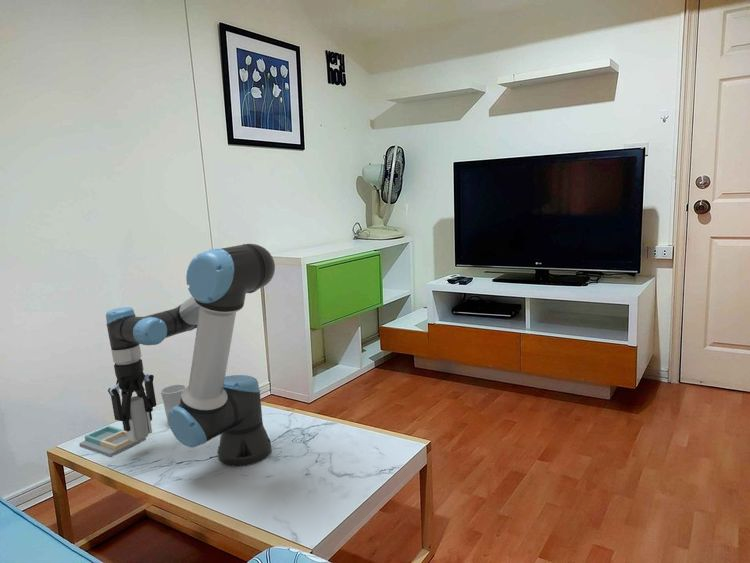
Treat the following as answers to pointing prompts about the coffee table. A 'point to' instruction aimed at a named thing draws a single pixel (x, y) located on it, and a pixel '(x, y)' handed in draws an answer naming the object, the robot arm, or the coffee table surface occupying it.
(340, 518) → the coffee table surface
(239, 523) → the coffee table surface
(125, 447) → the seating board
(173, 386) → the cup
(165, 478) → the coffee table surface
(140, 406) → the beverage can
